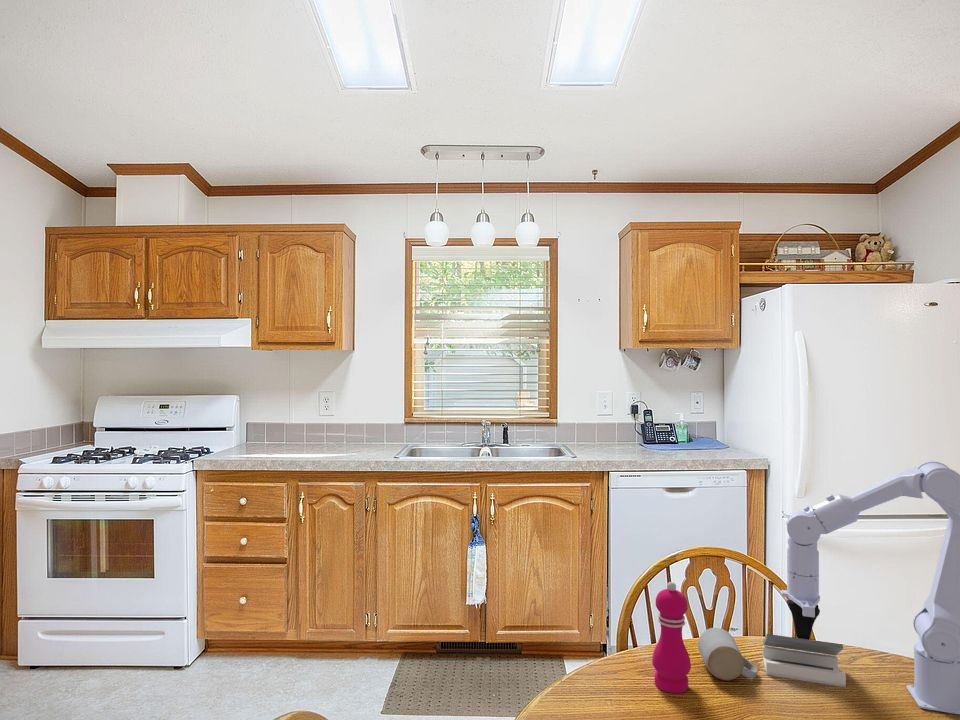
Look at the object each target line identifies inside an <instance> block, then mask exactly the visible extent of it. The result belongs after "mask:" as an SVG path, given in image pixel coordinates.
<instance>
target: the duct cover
mask: <svg viewBox="0 0 960 720" xmlns="http://www.w3.org/2000/svg"><path fill="white" fill-rule="evenodd" d="M763 646H769V647H776V648H783V649H790V650H797V651H804V652H811V653H818V654H824V655H831V656H837V655H838V654H840V653H841V651H842V650H844V644H841V643H835V642H827V641H820V640H813V639H809V640H807V639H800V638H797V637H793V636H792V637H791V636H786V635H785V636H784V635H778V634H772V633H766V635H765V637H764V640H763Z"/></svg>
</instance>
